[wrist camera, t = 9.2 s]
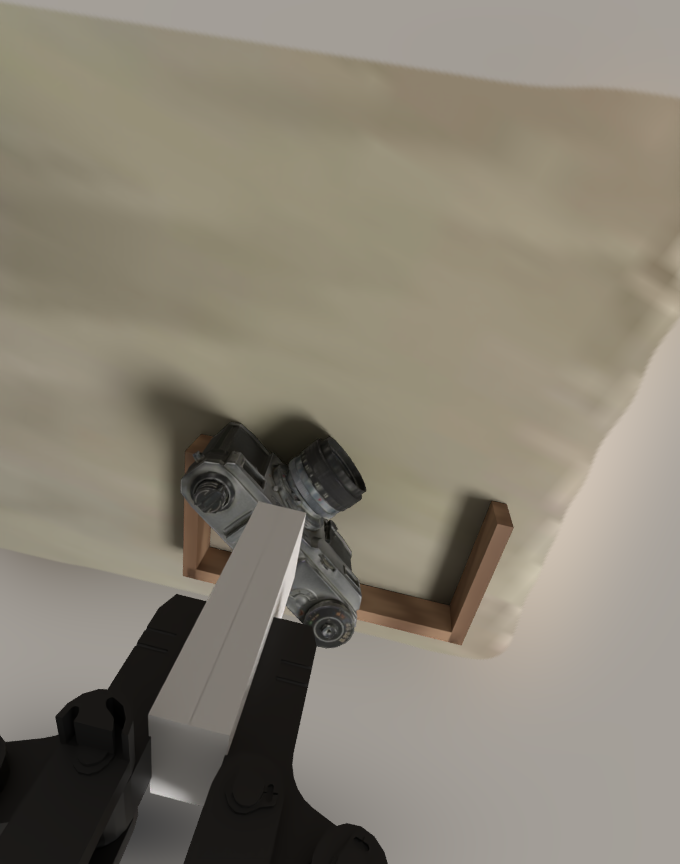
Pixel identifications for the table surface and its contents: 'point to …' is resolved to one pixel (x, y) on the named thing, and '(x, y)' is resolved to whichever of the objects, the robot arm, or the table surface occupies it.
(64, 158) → the table surface
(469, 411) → the table surface
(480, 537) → the dock
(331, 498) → the camera
